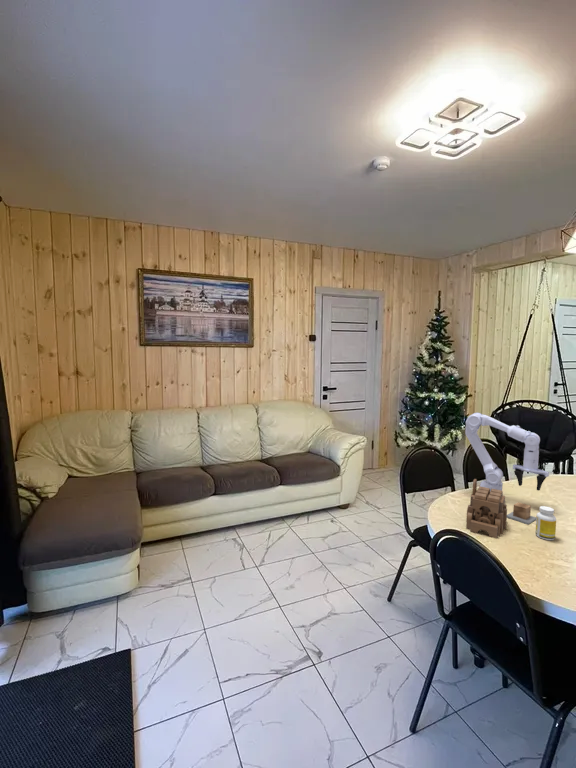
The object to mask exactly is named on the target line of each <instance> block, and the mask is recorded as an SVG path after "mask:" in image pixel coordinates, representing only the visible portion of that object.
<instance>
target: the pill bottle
mask: <svg viewBox="0 0 576 768" xmlns="http://www.w3.org/2000/svg"><path fill="white" fill-rule="evenodd" d="M554 514H555V509H554V508H553V507H550V506H544V505H541V506H539V512H537V513H536V516H535V517H536V520H535V535H536V536H537V537H538V538H540V539H542V540H545V541H554V540H555V539H556V532H557V531H556V530H557V517H556V516H555V515H554Z"/></svg>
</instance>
